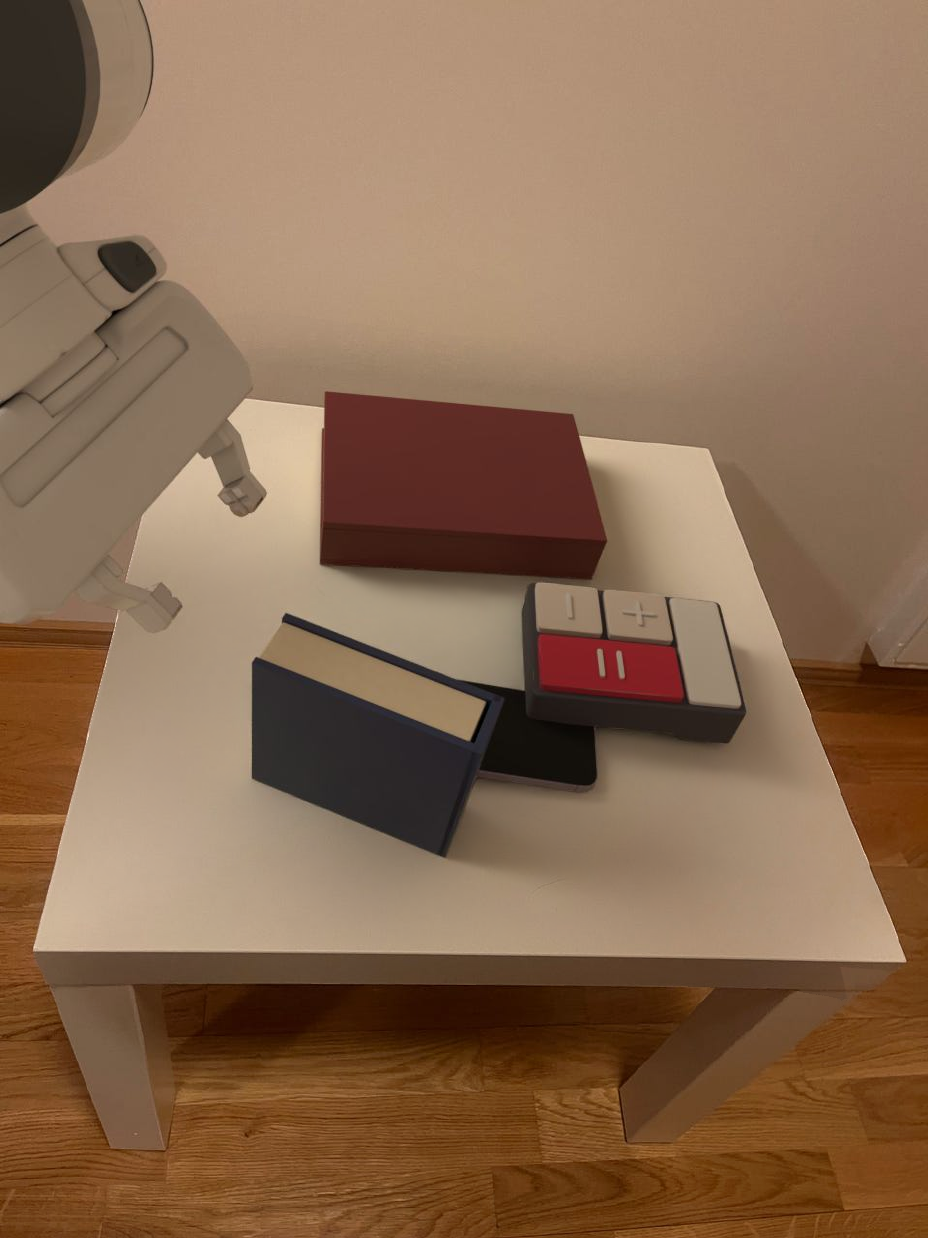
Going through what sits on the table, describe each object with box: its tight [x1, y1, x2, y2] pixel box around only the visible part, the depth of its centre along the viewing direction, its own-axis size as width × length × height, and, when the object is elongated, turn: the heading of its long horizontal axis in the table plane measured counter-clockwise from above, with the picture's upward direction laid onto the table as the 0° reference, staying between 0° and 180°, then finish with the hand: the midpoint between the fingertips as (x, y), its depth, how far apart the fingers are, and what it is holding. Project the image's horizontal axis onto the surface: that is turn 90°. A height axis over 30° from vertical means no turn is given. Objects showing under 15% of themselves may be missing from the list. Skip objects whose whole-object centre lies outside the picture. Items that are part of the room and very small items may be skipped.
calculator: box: [521, 581, 748, 745], centre depth 66 cm, size 11×4×15 cm
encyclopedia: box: [319, 390, 608, 580], centre depth 76 cm, size 22×16×4 cm
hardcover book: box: [251, 612, 504, 859], centre depth 53 cm, size 4×13×12 cm, turn 71°
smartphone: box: [456, 678, 599, 793], centre depth 62 cm, size 7×1×15 cm
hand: (214, 560), depth 48 cm, fingers open, 8 cm apart
